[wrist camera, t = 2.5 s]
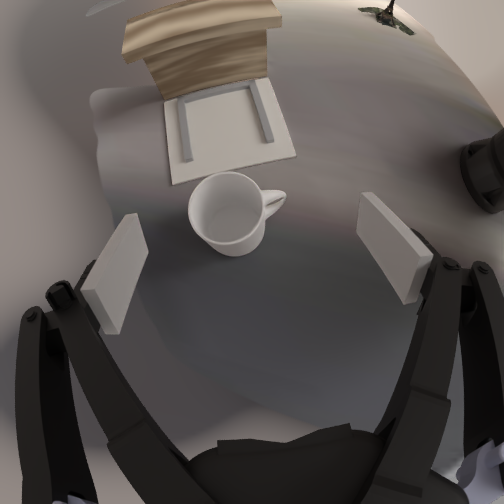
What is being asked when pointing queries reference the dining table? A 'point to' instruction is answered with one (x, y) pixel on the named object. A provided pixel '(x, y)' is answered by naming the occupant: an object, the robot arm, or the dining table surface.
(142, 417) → the robot arm
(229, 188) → the mug
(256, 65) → the overhang shelf
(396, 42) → the dining table surface
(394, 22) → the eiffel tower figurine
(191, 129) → the seat plate
